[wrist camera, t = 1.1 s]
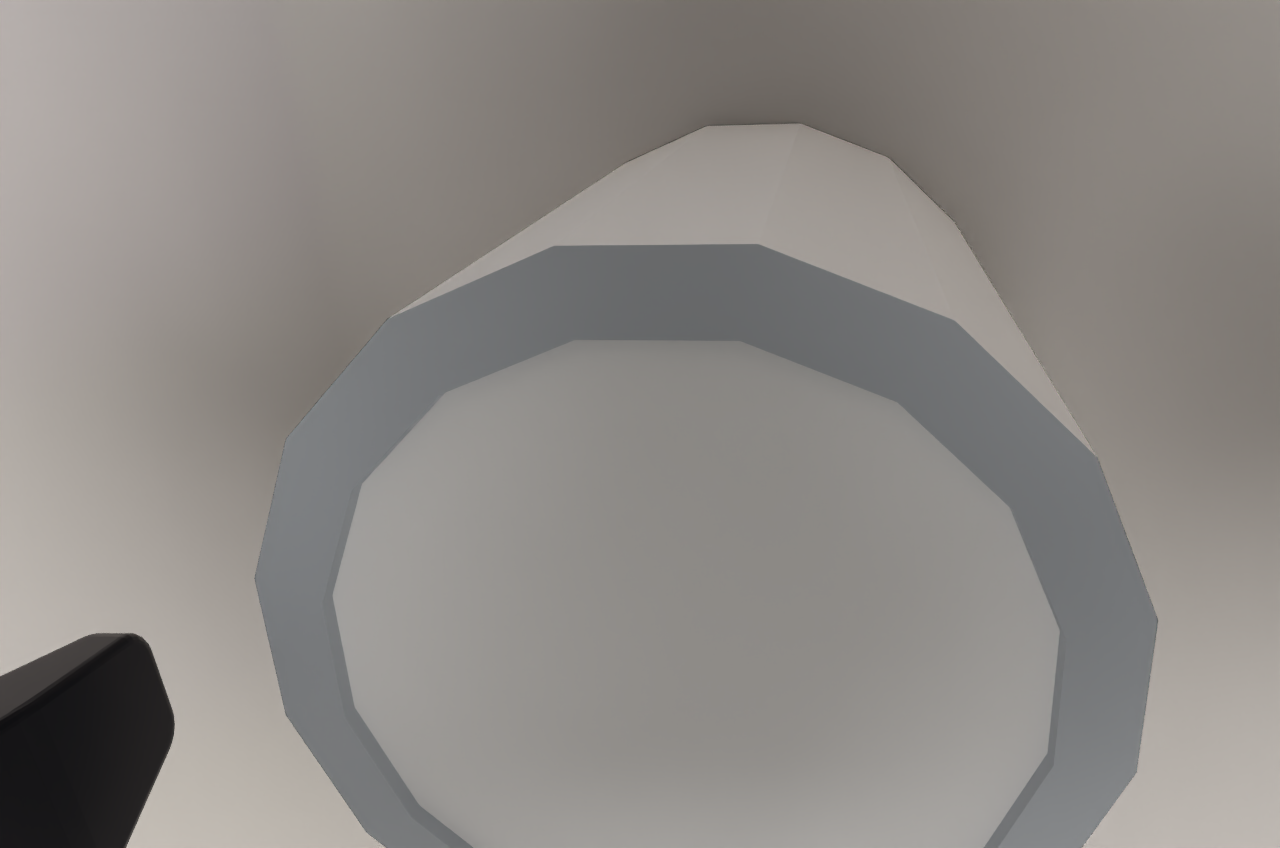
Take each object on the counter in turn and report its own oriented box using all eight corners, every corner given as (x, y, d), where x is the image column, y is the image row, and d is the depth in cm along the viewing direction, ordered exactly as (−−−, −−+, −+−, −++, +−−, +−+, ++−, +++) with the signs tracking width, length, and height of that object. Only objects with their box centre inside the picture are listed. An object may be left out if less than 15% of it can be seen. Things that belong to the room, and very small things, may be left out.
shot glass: (426, 138, 15) (106, 344, 9) (999, -1, 13) (1108, 133, 7) (578, 602, 17) (412, 1017, 11) (1072, 539, 16) (1201, 993, 9)
